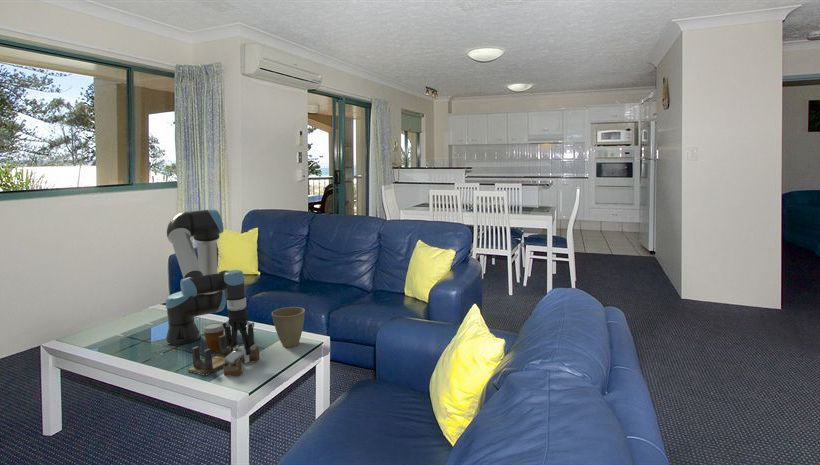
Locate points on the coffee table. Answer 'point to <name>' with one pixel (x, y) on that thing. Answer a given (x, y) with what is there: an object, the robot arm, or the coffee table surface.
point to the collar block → (210, 358)
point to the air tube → (237, 354)
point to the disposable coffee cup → (213, 335)
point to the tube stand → (240, 364)
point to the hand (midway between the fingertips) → (242, 361)
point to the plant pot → (289, 325)
